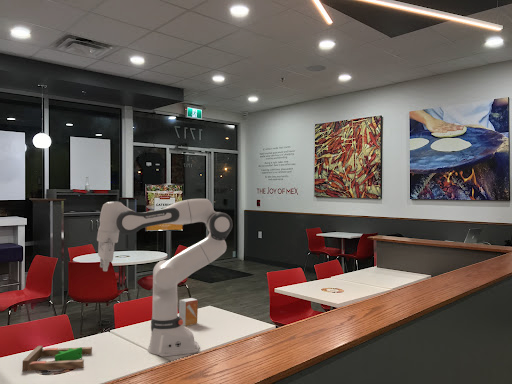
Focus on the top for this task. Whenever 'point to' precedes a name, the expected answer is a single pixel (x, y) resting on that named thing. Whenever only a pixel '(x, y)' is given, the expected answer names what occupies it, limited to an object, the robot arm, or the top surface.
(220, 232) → the robot arm
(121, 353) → the top surface
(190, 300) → the small box
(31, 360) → the guide channel
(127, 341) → the top surface
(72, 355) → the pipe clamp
